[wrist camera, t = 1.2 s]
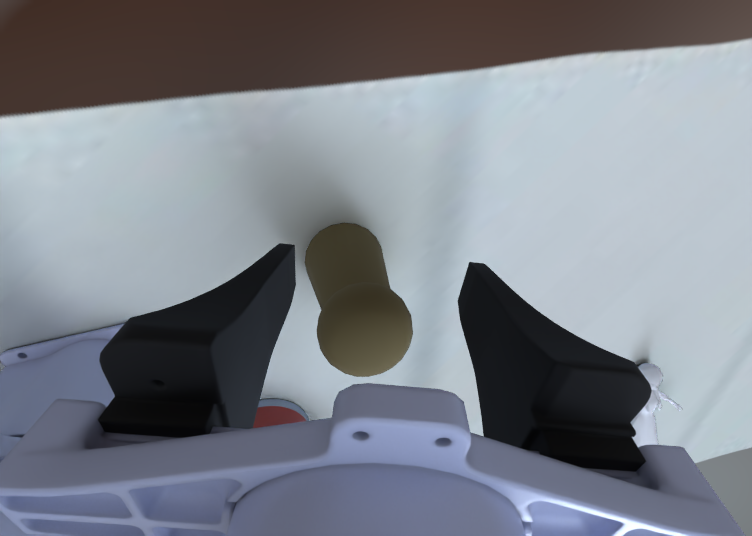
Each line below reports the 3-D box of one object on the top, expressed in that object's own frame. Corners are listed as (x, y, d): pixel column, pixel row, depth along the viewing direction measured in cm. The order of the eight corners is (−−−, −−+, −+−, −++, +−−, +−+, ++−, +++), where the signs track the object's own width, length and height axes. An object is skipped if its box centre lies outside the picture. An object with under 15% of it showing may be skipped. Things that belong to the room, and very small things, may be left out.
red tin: (260, 466, 36) (252, 547, 29) (208, 425, 32) (187, 507, 26) (324, 430, 35) (331, 504, 29) (279, 384, 32) (275, 457, 25)
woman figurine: (604, 505, 44) (619, 393, 37) (578, 473, 48) (587, 366, 41) (687, 477, 45) (717, 364, 38) (655, 448, 49) (677, 340, 42)
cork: (334, 207, 26) (358, 275, 16) (397, 249, 28) (451, 330, 18) (289, 271, 27) (286, 370, 17) (353, 305, 30) (381, 409, 20)
